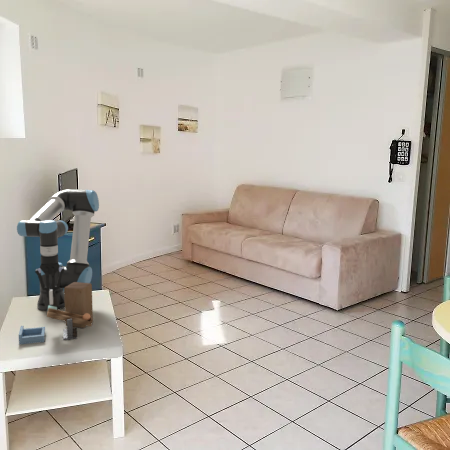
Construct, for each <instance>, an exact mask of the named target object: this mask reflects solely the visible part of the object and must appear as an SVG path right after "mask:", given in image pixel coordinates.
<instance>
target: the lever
mask: <svg viewBox="0 0 450 450" xmlns="http://www.w3.org/2000/svg"><path fill="white" fill-rule="evenodd" d="M46 312H47V313H46V318H49V319H54V320H59V321H64V322H65V321H67V319H72V323H77V324H82V325H86V327H92V325H93V322H94V315H90V316H91V318H90V320H89V321H88V320H83V315H79V314H74V313H70V312H65V310H62V309H59V310H57V307H54V306H50V305H48V311H46Z"/></svg>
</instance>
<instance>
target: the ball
mask: <svg viewBox="0 0 450 450" xmlns="http://www.w3.org/2000/svg"><path fill="white" fill-rule="evenodd" d="M90 318H91V316H90V314H88V313H86V314H84V315H83V320H88V321H89V320H90Z"/></svg>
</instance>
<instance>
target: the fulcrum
mask: <svg viewBox="0 0 450 450" xmlns="http://www.w3.org/2000/svg"><path fill="white" fill-rule="evenodd" d="M70 313H72V312H70ZM62 337H63V339H62V340H63V341H69V340H77V339H78V329H77V328H76V327H73V323H72V319H67V326H66V328H63V331H62Z"/></svg>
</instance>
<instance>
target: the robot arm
mask: <svg viewBox="0 0 450 450" xmlns="http://www.w3.org/2000/svg"><path fill="white" fill-rule="evenodd" d="M99 200H100V199H99V196H98V194H97V192H96V191H95V190H93V189H92V190H91V189H71V188H68V189H67V188H66V189H63V190H60V191H58V192H56V193H54V194H52V195H51V196H50V197H49V198H48V199H47V201H46V203H45V204H44V205H43V206H42V207H41V208H40V209H39V210H38V211H37V212H35V213H34V214H33V215H32V216H31V217H30V218H29V219H28V220H25V219H24V220H20V221H18V223H17V226H16V232H17V234H18V235H19V236H21V237H26V238H27V237H31V238H36V237H37V238H39V242H40V244H39V246H40V247H39V249H40V250H39V251H40V264H39V265H40V267H39V268H36V269H35V271H34V273H35V274H36V275H37V278H38V281H39V296H38V299H37V304H36V305H37V309H38V310H39V311H44V312H47V311H48V305H50V306H54V307H57V310H62V309H65V298H64V288H65V287H66V286H68V285H70V284H71V283H73V282H81V283H91V281H92V278H93V269H92V267H91V266H90V264H89V262H88V252H89V251H88V250H89V242H90V241H89V240H90V234H91V233H90V232H91V231H90V230H91V221H92V217H94V216H95V212H98V211H99V208H100V201H99ZM63 211H72V212H71V213H72V214H73V216H74V218H73V219H74V221H73V229H72V230H73V231H72V238H71V239H72V240H71V246H70V247H71V248H70V256H69V257H70V258H69V260H68V261H67V262H66V265H65V266H64V265H63V263H62V262H59V246H58V245H59V244H58V243H59V242H58V239H60V238H62V237H63V236H65V235H66V234H67V233H68V230H69V225H68V224H67V222H65V221H64V220H60V219H59V220H54V218H55V217H56V216H57V215H58V214H60V213H62V212H63Z"/></svg>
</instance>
